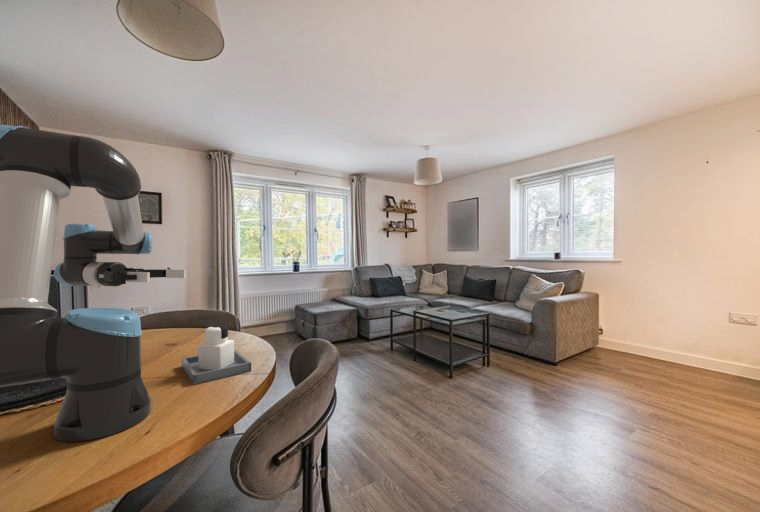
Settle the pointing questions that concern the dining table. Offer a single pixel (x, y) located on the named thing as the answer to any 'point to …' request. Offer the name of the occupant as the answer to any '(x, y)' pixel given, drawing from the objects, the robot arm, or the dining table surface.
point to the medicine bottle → (216, 349)
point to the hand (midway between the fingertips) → (168, 275)
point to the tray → (207, 375)
